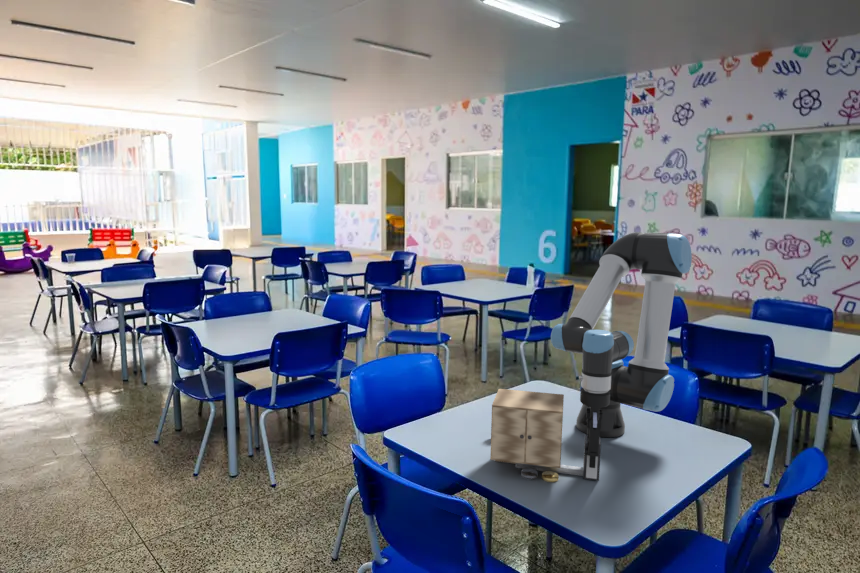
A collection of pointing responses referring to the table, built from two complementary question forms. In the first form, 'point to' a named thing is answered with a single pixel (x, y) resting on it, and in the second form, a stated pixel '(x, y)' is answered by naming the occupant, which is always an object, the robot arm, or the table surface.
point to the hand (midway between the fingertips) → (590, 472)
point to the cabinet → (527, 428)
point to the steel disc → (529, 474)
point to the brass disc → (550, 476)
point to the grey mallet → (565, 468)
